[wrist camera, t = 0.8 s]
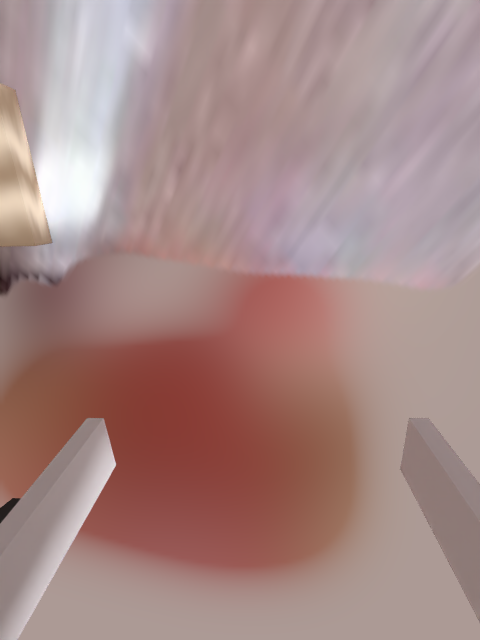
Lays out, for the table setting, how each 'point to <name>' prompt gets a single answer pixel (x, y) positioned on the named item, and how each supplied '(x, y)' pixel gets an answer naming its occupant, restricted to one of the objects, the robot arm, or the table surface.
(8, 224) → the plate
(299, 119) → the table surface
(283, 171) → the table surface
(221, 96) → the table surface
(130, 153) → the table surface
